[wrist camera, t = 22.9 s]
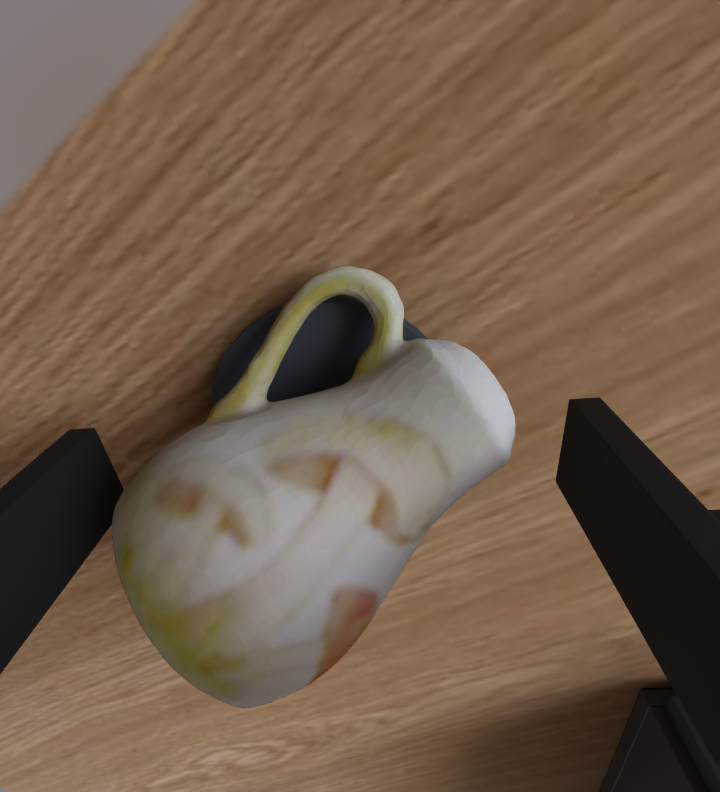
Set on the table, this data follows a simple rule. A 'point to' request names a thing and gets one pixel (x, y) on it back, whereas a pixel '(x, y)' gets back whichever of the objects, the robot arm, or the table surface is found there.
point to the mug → (303, 501)
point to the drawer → (694, 744)
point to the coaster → (307, 350)
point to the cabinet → (652, 752)
